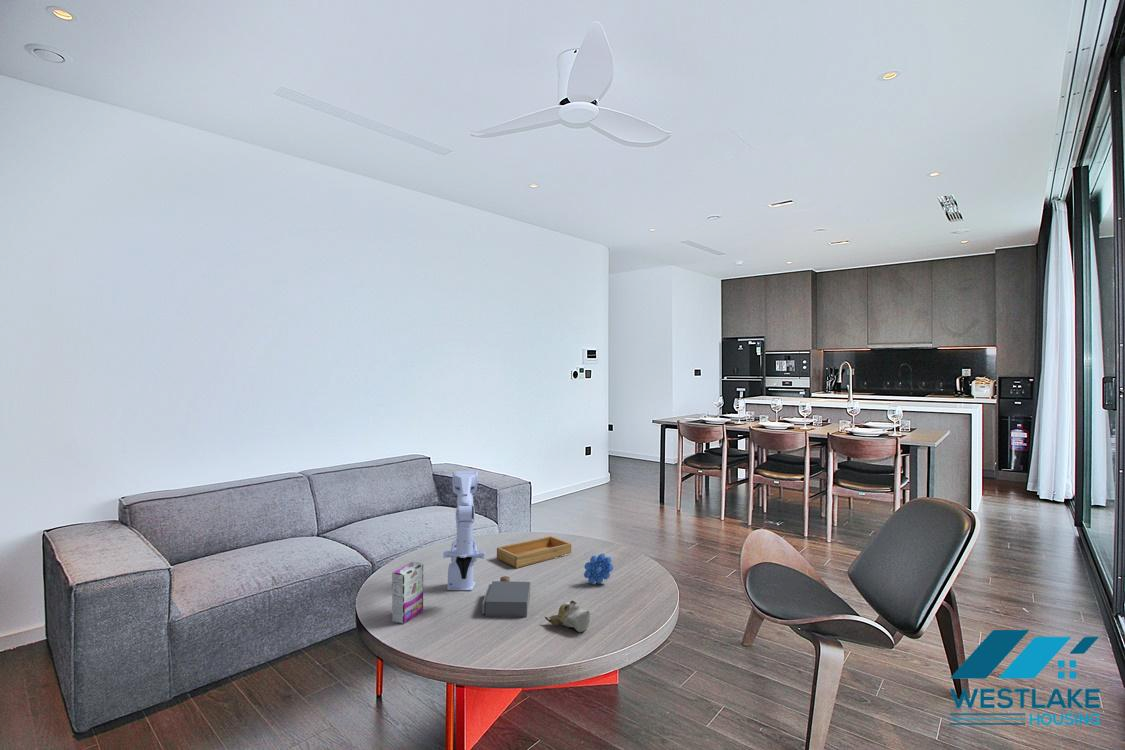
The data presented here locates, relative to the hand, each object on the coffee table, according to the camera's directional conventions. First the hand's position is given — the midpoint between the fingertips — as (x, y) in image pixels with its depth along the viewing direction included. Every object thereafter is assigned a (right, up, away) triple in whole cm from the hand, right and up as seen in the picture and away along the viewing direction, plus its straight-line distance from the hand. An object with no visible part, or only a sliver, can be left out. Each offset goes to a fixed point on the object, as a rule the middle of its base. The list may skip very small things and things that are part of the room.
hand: (464, 578), depth 193 cm
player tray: (+14, -9, 0) cm, 17 cm away
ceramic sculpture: (+38, -11, -15) cm, 42 cm away
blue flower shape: (+49, -10, +22) cm, 55 cm away
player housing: (+16, -10, 0) cm, 19 cm away
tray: (+22, -10, +52) cm, 57 cm away
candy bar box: (-17, -9, -10) cm, 22 cm away
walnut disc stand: (+13, -10, +15) cm, 22 cm away
